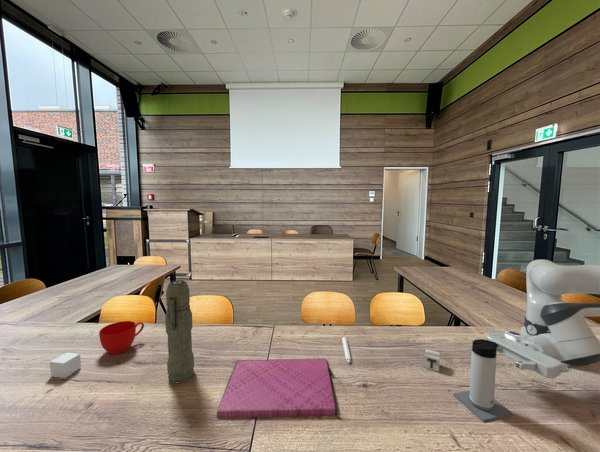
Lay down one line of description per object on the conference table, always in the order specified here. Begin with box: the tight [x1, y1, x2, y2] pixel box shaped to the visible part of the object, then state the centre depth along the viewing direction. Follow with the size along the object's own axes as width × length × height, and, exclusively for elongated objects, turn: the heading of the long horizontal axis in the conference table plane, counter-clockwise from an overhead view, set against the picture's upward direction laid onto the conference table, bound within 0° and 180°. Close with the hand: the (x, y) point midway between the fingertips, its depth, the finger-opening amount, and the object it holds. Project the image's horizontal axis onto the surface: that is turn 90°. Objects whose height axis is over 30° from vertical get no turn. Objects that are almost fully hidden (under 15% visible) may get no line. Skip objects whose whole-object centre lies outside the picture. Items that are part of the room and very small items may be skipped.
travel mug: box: [469, 338, 498, 411], centre depth 82 cm, size 6×7×20 cm
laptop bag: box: [216, 358, 348, 418], centre depth 92 cm, size 40×4×27 cm
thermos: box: [164, 279, 195, 384], centre depth 96 cm, size 9×12×35 cm
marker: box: [341, 336, 352, 364], centre depth 113 cm, size 18×2×2 cm, turn 177°
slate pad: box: [452, 389, 514, 423], centre depth 83 cm, size 11×11×1 cm
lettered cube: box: [423, 349, 441, 373], centre depth 103 cm, size 5×5×5 cm
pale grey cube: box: [49, 352, 82, 379], centre depth 99 cm, size 6×6×6 cm
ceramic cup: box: [98, 320, 145, 355], centre depth 115 cm, size 13×17×10 cm
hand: (502, 357), depth 84 cm, fingers open, 8 cm apart
